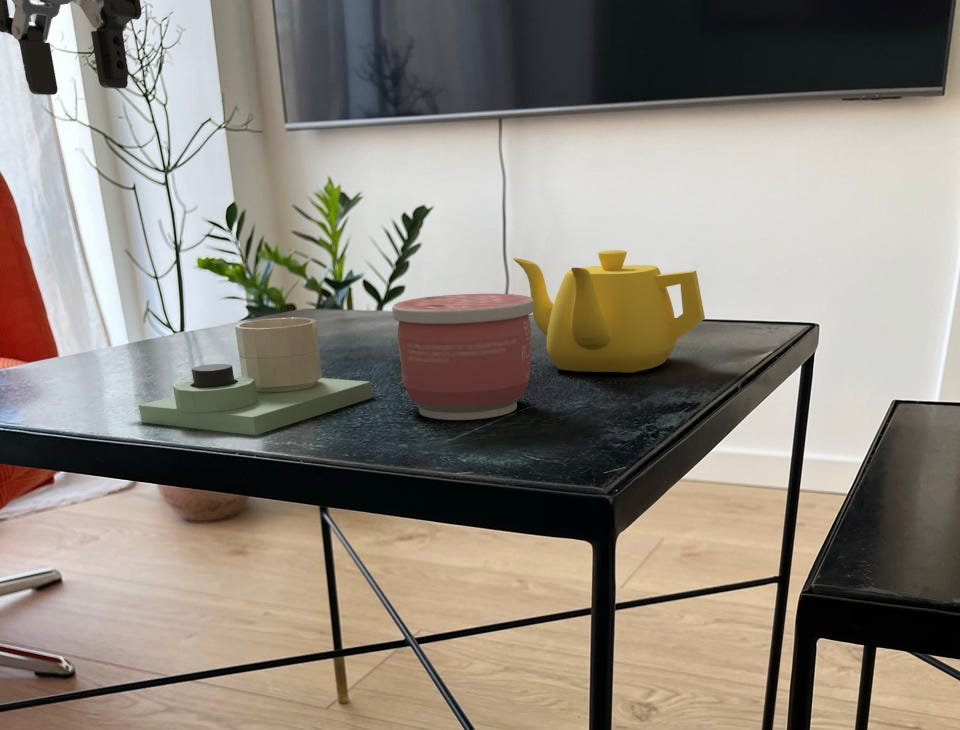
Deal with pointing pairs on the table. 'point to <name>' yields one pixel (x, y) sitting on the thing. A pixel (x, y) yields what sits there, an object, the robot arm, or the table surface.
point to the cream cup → (279, 353)
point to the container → (465, 353)
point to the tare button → (213, 375)
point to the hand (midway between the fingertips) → (78, 91)
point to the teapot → (613, 314)
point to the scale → (250, 405)
